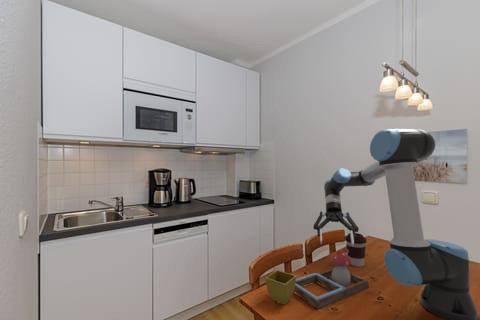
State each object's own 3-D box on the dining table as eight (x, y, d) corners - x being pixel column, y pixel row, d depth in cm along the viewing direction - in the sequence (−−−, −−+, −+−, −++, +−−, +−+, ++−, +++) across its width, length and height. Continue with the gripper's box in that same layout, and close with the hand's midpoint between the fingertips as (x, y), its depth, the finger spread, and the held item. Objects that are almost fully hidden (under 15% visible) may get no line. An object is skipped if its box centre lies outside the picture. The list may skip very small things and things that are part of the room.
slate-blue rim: (345, 289, 92) (345, 288, 92) (317, 301, 85) (317, 299, 85) (316, 273, 105) (316, 272, 105) (289, 282, 98) (289, 281, 98)
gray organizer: (368, 287, 98) (368, 280, 99) (317, 309, 85) (317, 300, 85) (338, 273, 112) (337, 267, 112) (289, 289, 98) (289, 282, 98)
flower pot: (277, 291, 97) (276, 269, 97) (297, 298, 92) (296, 275, 92) (265, 301, 90) (265, 277, 91) (286, 310, 85) (285, 284, 85)
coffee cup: (371, 268, 117) (370, 237, 117) (350, 268, 117) (349, 237, 117) (361, 259, 127) (360, 231, 127) (342, 260, 127) (341, 231, 127)
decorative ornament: (349, 281, 104) (348, 246, 105) (355, 289, 98) (354, 252, 98) (327, 281, 105) (326, 246, 105) (332, 288, 98) (331, 252, 99)
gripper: (358, 210, 123) (365, 249, 108) (308, 208, 130) (308, 245, 116) (360, 201, 118) (368, 241, 103) (308, 200, 125) (308, 237, 111)
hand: (336, 243), depth 109 cm, fingers open, 13 cm apart
